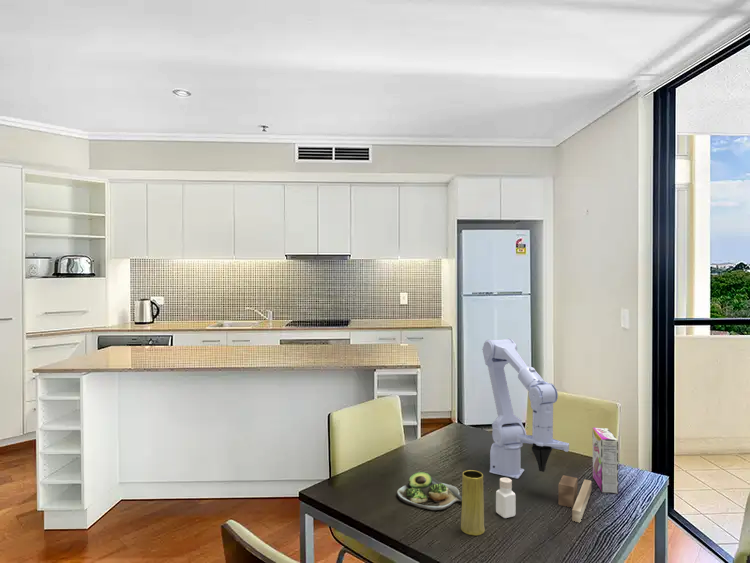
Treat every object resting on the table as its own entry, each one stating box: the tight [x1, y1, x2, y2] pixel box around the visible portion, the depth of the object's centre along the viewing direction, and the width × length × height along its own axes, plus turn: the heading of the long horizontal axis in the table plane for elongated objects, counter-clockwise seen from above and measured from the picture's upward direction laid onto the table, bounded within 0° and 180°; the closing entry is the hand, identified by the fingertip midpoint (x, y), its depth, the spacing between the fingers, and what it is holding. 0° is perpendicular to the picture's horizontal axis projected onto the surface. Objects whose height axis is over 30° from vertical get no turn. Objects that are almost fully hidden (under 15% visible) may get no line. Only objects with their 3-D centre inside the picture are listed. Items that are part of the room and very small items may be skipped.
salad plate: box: [396, 471, 462, 511], centre depth 138 cm, size 19×18×5 cm
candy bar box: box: [591, 427, 619, 495], centre depth 145 cm, size 11×5×16 cm, turn 168°
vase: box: [460, 469, 486, 537], centre depth 120 cm, size 6×6×14 cm
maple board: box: [571, 478, 592, 524], centre depth 133 cm, size 2×22×3 cm, turn 148°
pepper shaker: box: [495, 477, 517, 519], centre depth 127 cm, size 4×4×10 cm
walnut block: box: [557, 475, 578, 509], centre depth 135 cm, size 4×7×6 cm, turn 148°
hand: (542, 470), depth 139 cm, fingers closed
